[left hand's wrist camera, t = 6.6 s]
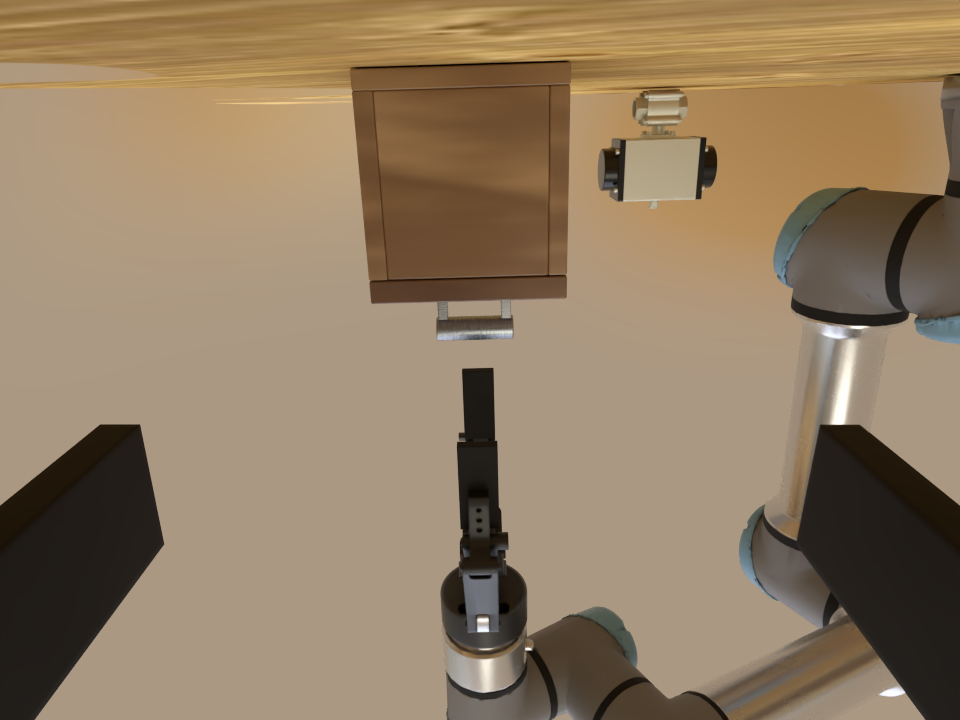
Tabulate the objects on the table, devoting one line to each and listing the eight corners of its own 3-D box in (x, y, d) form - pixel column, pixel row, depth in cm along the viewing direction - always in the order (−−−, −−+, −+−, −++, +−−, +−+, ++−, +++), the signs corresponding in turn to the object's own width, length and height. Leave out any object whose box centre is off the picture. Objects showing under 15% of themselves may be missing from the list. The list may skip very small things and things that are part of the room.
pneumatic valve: (608, 91, 65) (603, 212, 70) (725, 87, 65) (713, 209, 69) (598, 92, 71) (595, 205, 75) (707, 89, 70) (697, 202, 75)
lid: (537, 220, 48) (536, 328, 50) (407, 223, 48) (414, 331, 51) (567, 276, 31) (564, 431, 34) (369, 281, 31) (383, 435, 34)
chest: (538, 80, 44) (537, 220, 47) (396, 84, 44) (406, 224, 47) (571, 61, 28) (567, 275, 31) (349, 68, 28) (368, 280, 31)
